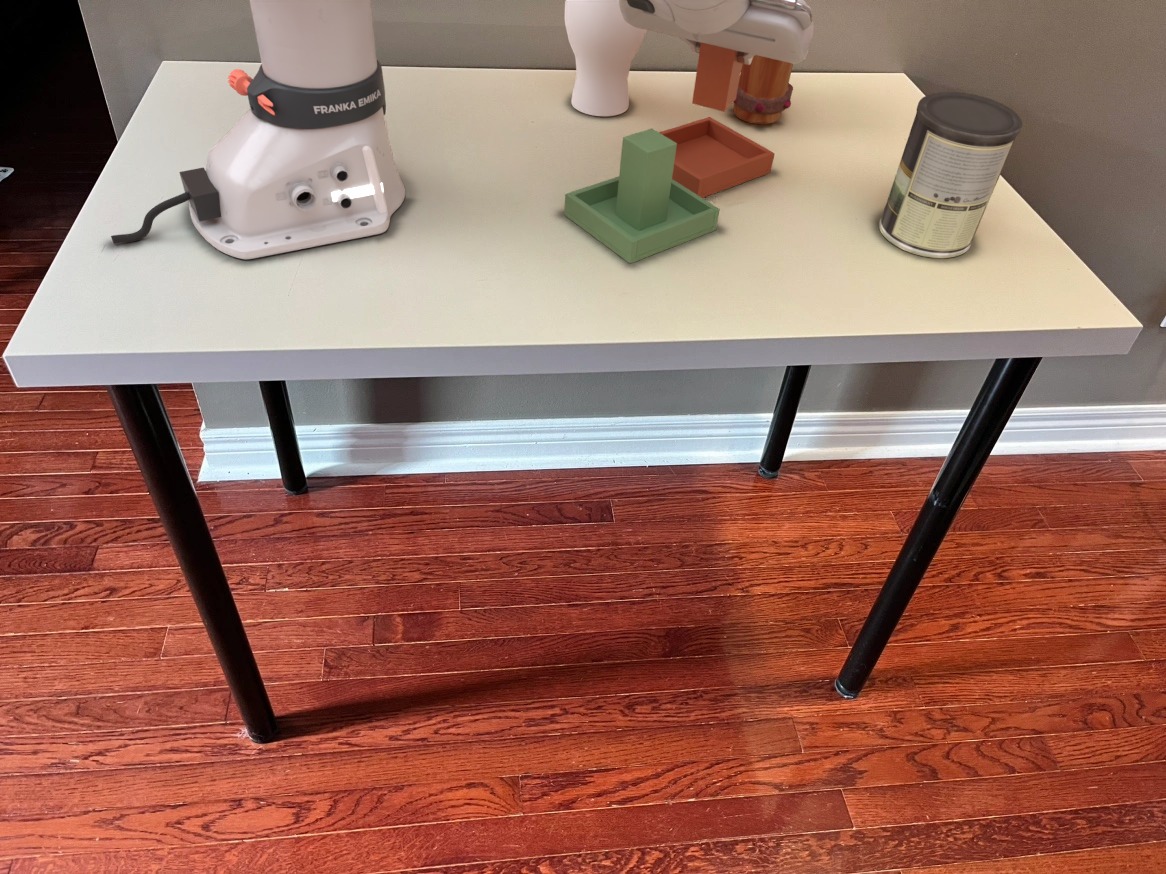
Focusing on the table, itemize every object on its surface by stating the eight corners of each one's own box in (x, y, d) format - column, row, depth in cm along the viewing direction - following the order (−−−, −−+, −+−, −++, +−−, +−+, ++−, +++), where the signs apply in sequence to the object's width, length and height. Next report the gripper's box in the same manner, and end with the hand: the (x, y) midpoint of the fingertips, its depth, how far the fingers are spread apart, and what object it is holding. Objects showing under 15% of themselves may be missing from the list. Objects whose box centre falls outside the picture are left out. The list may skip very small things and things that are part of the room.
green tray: (630, 263, 91) (632, 242, 89) (564, 214, 97) (565, 193, 95) (716, 230, 97) (720, 209, 95) (648, 186, 103) (651, 165, 101)
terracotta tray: (696, 200, 101) (699, 179, 100) (632, 159, 107) (635, 139, 106) (770, 173, 107) (775, 153, 105) (706, 136, 113) (709, 116, 112)
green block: (638, 231, 95) (647, 152, 88) (615, 214, 97) (622, 136, 90) (666, 220, 96) (677, 143, 90) (642, 204, 99) (651, 127, 92)
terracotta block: (724, 112, 100) (740, 19, 93) (691, 103, 101) (705, 12, 94) (735, 99, 102) (752, 8, 95) (703, 91, 104) (717, 1, 97)
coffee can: (859, 218, 101) (897, 97, 91) (929, 204, 104) (974, 86, 94) (917, 266, 94) (966, 141, 84) (990, 249, 97) (1045, 127, 88)
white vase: (562, 85, 122) (568, -33, 111) (639, 91, 122) (651, -26, 111) (558, 118, 114) (563, -5, 104) (639, 125, 114) (653, 3, 104)
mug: (785, 137, 115) (813, 16, 104) (723, 127, 115) (744, 6, 105) (789, 92, 125) (815, -22, 114) (731, 84, 126) (752, -30, 115)
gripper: (823, -29, 82) (823, 45, 95) (623, -68, 88) (650, 7, 101) (799, 36, 82) (803, 100, 96) (601, -8, 88) (631, 59, 101)
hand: (723, 52), depth 98 cm, fingers closed on terracotta block, 4 cm apart
